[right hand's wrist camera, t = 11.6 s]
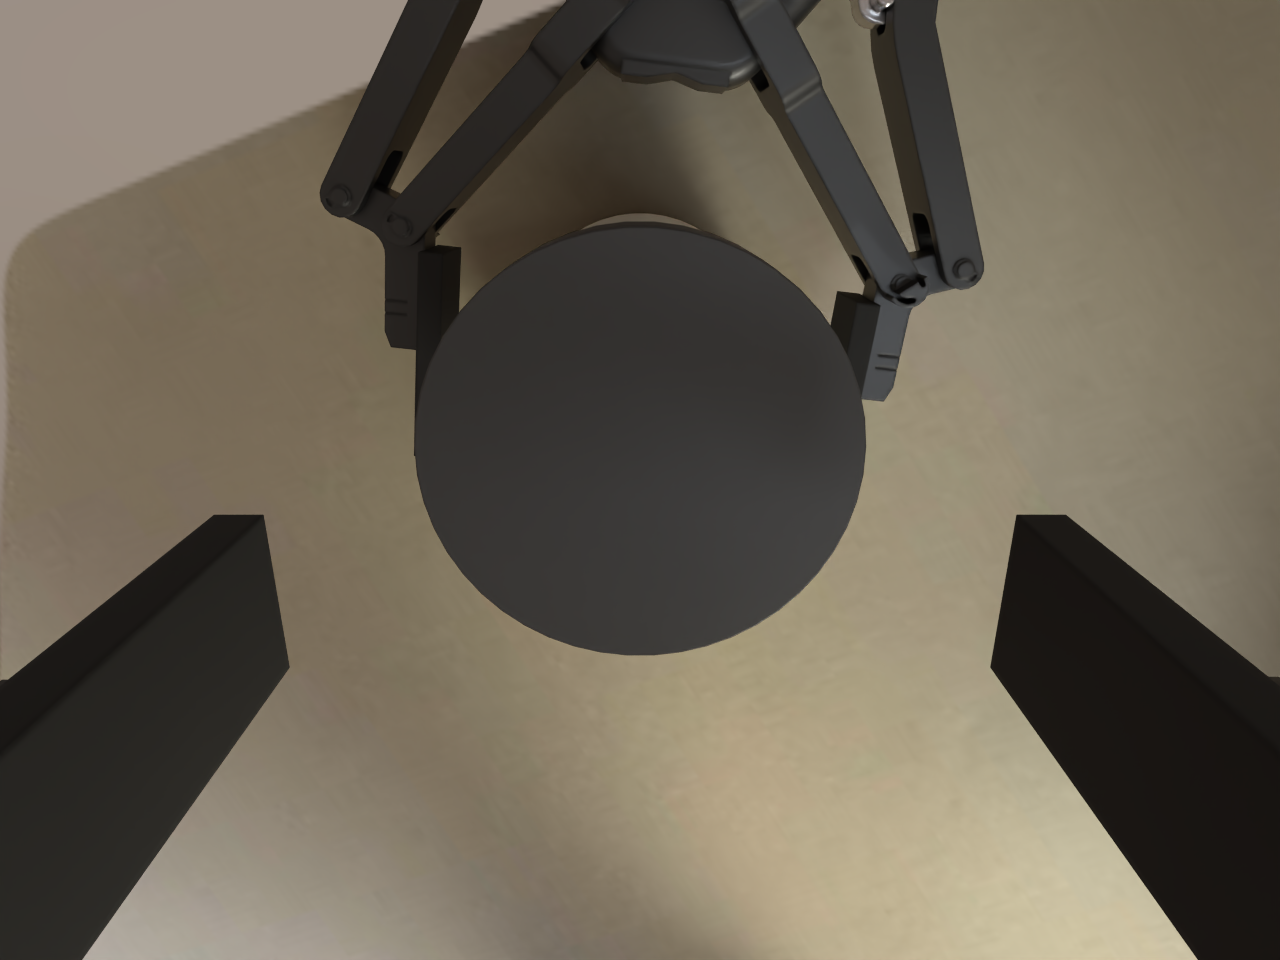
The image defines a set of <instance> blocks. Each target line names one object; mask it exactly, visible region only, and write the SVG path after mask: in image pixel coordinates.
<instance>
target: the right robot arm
mask: <svg viewBox="0 0 1280 960" xmlns="http://www.w3.org/2000/svg"><path fill="white" fill-rule="evenodd" d="M289 668H290V667H289V661H288V655H287V649H286V643H285V637H284V632H283V626H282V620H281V614H280V608H279V602H278V597H277V591H276V585H275V579H274V573H273V567H272V562H271V556H270V550H269V544H268V538H267V532H266V527H265V521H264V515H213V516H212V517H211V518H210V519H208V520H207V521H206V522H205V523H203V524H202V525H201V526H200V527H198V528H197V529H196V530H195V531H193V532H192V533H191V534H190V535H188V536H187V537H186V538H185V539H183V540H182V541H181V542H180V543H178V544H177V545H176V546H175V547H173V548H172V549H171V550H170V551H168V552H167V553H166V554H165V555H163V556H162V557H161V558H160V559H158V560H157V561H156V562H155V563H153V564H152V565H151V566H150V567H148V568H147V569H146V570H145V571H143V572H142V573H141V574H140V575H138V576H137V577H136V578H135V579H133V580H132V581H131V582H130V583H128V584H127V585H126V586H125V587H123V588H122V589H121V590H120V591H118V592H117V593H116V594H115V595H113V596H112V597H111V598H110V599H108V600H107V601H106V602H105V603H103V604H102V605H101V606H100V607H98V608H97V609H96V610H95V611H93V612H92V613H91V614H90V615H88V616H87V617H86V618H85V619H83V620H82V621H81V622H80V623H78V624H77V625H76V626H75V627H73V628H72V629H71V630H70V631H68V632H67V633H66V634H65V635H63V636H62V637H61V638H60V639H58V640H57V641H56V642H55V643H53V644H52V645H51V646H50V647H48V648H47V649H46V650H45V651H43V652H42V653H41V654H40V655H38V656H37V657H36V658H35V659H33V660H32V661H31V662H30V663H28V664H27V665H26V666H25V667H23V668H22V669H21V670H20V671H18V672H17V673H16V674H15V675H13V676H12V677H11V678H10V679H8V680H1V681H0V960H82V959H83V958H84V956H85V955H86V954H87V952H88V951H89V949H90V948H91V947H92V945H93V944H94V942H95V941H96V939H97V938H98V937H99V935H100V934H101V932H102V931H103V930H104V928H105V927H106V925H107V924H108V923H109V921H110V920H111V918H112V917H113V916H114V914H115V913H116V911H117V910H118V908H119V907H120V906H121V904H122V903H123V901H124V900H125V899H126V897H127V896H128V894H129V893H130V892H131V890H132V889H133V887H134V886H135V885H136V883H137V882H138V880H139V879H140V877H141V876H142V875H143V873H144V872H145V870H146V869H147V868H148V866H149V865H150V863H151V862H152V861H153V859H154V858H155V856H156V855H157V854H158V852H159V851H160V849H161V848H162V846H163V845H164V844H165V842H166V841H167V839H168V838H169V837H170V835H171V834H172V832H173V831H174V830H175V828H176V827H177V825H178V824H179V823H180V821H181V820H182V818H183V817H184V816H185V814H186V813H187V811H188V810H189V808H190V807H191V806H192V804H193V803H194V801H195V800H196V799H197V797H198V796H199V794H200V793H201V792H202V790H203V789H204V787H205V786H206V785H207V783H208V782H209V780H210V779H211V777H212V776H213V775H214V773H215V772H216V770H217V769H218V768H219V766H220V765H221V763H222V762H223V761H224V759H225V758H226V756H227V755H228V754H229V752H230V751H231V749H232V748H233V746H234V745H235V744H236V742H237V741H238V739H239V738H240V737H241V735H242V734H243V732H244V731H245V730H246V728H247V727H248V725H249V724H250V723H251V721H252V720H253V718H254V717H255V715H256V714H257V713H258V711H259V710H260V708H261V707H262V706H263V704H264V703H265V701H266V700H267V699H268V697H269V696H270V694H271V693H272V692H273V690H274V689H275V687H276V686H277V685H278V683H279V682H280V680H281V679H282V677H283V676H284V675H285V673H286V672H287V670H288V669H289ZM990 668H991V669H992V670H993V672H994V673H995V675H996V676H997V677H998V679H999V680H1000V682H1001V683H1002V685H1003V686H1004V687H1005V689H1006V690H1007V692H1008V693H1009V694H1010V696H1011V697H1012V699H1013V700H1014V701H1015V703H1016V704H1017V706H1018V707H1019V708H1020V710H1021V711H1022V713H1023V714H1024V715H1025V717H1026V718H1027V720H1028V721H1029V723H1030V724H1031V725H1032V727H1033V728H1034V730H1035V731H1036V732H1037V734H1038V735H1039V737H1040V738H1041V739H1042V741H1043V742H1044V744H1045V745H1046V746H1047V748H1048V749H1049V751H1050V752H1051V754H1052V755H1053V756H1054V758H1055V759H1056V761H1057V762H1058V763H1059V765H1060V766H1061V768H1062V769H1063V770H1064V772H1065V773H1066V775H1067V776H1068V777H1069V779H1070V780H1071V782H1072V783H1073V785H1074V786H1075V787H1076V789H1077V790H1078V792H1079V793H1080V794H1081V796H1082V797H1083V799H1084V800H1085V801H1086V803H1087V804H1088V806H1089V807H1090V808H1091V810H1092V811H1093V813H1094V814H1095V816H1096V817H1097V818H1098V820H1099V821H1100V823H1101V824H1102V825H1103V827H1104V828H1105V830H1106V831H1107V832H1108V834H1109V835H1110V837H1111V838H1112V839H1113V841H1114V842H1115V844H1116V845H1117V846H1118V848H1119V849H1120V851H1121V852H1122V854H1123V855H1124V856H1125V858H1126V859H1127V861H1128V862H1129V863H1130V865H1131V866H1132V868H1133V869H1134V870H1135V872H1136V873H1137V875H1138V876H1139V877H1140V879H1141V880H1142V882H1143V883H1144V885H1145V886H1146V887H1147V889H1148V890H1149V892H1150V893H1151V894H1152V896H1153V897H1154V899H1155V900H1156V901H1157V903H1158V904H1159V906H1160V907H1161V908H1162V910H1163V911H1164V913H1165V914H1166V916H1167V917H1168V918H1169V920H1170V921H1171V923H1172V924H1173V925H1174V927H1175V928H1176V930H1177V931H1178V932H1179V934H1180V935H1181V937H1182V938H1183V939H1184V941H1185V942H1186V944H1187V945H1188V947H1189V948H1190V949H1191V951H1192V952H1193V954H1194V955H1195V956H1196V958H1197V959H1198V960H1280V677H1268V676H1267V675H1265V674H1264V673H1263V672H1262V671H1260V670H1259V669H1258V668H1257V667H1255V666H1254V665H1253V664H1252V663H1250V662H1249V661H1248V660H1247V659H1245V658H1244V657H1243V656H1242V655H1240V654H1239V653H1238V652H1237V651H1235V650H1234V649H1233V648H1232V647H1230V646H1229V645H1228V644H1227V643H1225V642H1224V641H1223V640H1222V639H1220V638H1219V637H1218V636H1217V635H1215V634H1214V633H1213V632H1212V631H1210V630H1209V629H1208V628H1207V627H1205V626H1204V625H1203V624H1202V623H1200V622H1199V621H1198V620H1197V619H1195V618H1194V617H1193V616H1192V615H1190V614H1189V613H1188V612H1187V611H1185V610H1184V609H1183V608H1182V607H1180V606H1179V605H1178V604H1177V603H1175V602H1174V601H1173V600H1172V599H1170V598H1169V597H1168V596H1167V595H1165V594H1164V593H1163V592H1162V591H1160V590H1159V589H1158V588H1157V587H1155V586H1154V585H1153V584H1152V583H1150V582H1149V581H1148V580H1147V579H1145V578H1144V577H1143V576H1142V575H1140V574H1139V573H1138V572H1137V571H1135V570H1134V569H1133V568H1132V567H1130V566H1129V565H1128V564H1127V563H1125V562H1124V561H1123V560H1122V559H1120V558H1119V557H1118V556H1117V555H1115V554H1114V553H1113V552H1112V551H1110V550H1109V549H1108V548H1107V547H1105V546H1104V545H1103V544H1102V543H1100V542H1099V541H1098V540H1097V539H1095V538H1094V537H1093V536H1092V535H1090V534H1089V533H1088V532H1087V531H1085V530H1084V529H1083V528H1082V527H1080V526H1079V525H1078V524H1077V523H1075V522H1074V521H1073V520H1072V519H1070V518H1069V517H1068V516H1067V515H1016V521H1015V526H1014V532H1013V538H1012V544H1011V550H1010V556H1009V562H1008V567H1007V573H1006V579H1005V585H1004V591H1003V597H1002V602H1001V608H1000V614H999V620H998V626H997V632H996V637H995V643H994V649H993V655H992V661H991V667H990Z"/></svg>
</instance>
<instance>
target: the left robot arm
mask: <svg viewBox="0 0 1280 960" xmlns="http://www.w3.org/2000/svg"><path fill="white" fill-rule="evenodd" d="M482 1H483V0H408V2H407V4H406V6H405V8H404V10H403V12H402V14H401V16H400V19H399V21H398V23H397V25H396V27H395V29H394V31H393V34H392V36H391V38H390V40H389V42H388V44H387V46H386V49H385V51H384V53H383V55H382V57H381V59H380V61H379V63H378V66H377V68H376V70H375V72H374V74H373V76H372V78H371V81H370V83H369V85H368V87H367V89H366V91H365V93H364V95H363V98H362V100H361V102H360V104H359V106H358V108H357V110H356V113H355V115H354V117H353V119H352V121H351V123H350V125H349V127H348V130H347V132H346V134H345V136H344V138H343V140H342V142H341V145H340V147H339V149H338V151H337V153H336V155H335V157H334V159H333V162H332V164H331V166H330V168H329V170H328V172H327V174H326V177H325V179H324V181H323V183H322V185H321V189H320V198H321V202H322V204H323V206H324V208H325V209H326V210H327V211H328V212H329V213H330V214H332V215H334V216H337V217H345V218H347V219H349V220H351V221H353V222H355V223H357V224H359V225H361V226H363V227H365V228H367V229H369V230H371V231H372V232H374V233H375V234H376V235H377V236H378V237H379V239H380V240H381V242H382V244H383V247H384V250H385V333H386V335H387V338H388V341H389V343H390V346H391V347H394V348H403V349H412V350H416V381H415V419H416V413H417V407H418V402H419V396H420V391H421V388H422V385H423V382H424V379H425V376H426V372H427V369H428V366H429V363H430V361H431V359H432V357H433V355H434V353H435V351H436V349H437V347H438V345H439V343H440V341H441V339H442V337H443V335H444V334H445V332H446V331H447V330H448V328H449V327H450V325H451V324H452V322H453V321H454V319H455V318H456V316H457V315H458V313H459V294H460V266H461V247H452V246H444V245H437V246H435V237H437V236H438V235H440V234H439V233H438V232H439V231H440V230H441V228H442V227H443V226H444V225H445V224H446V223H447V222H448V221H449V220H450V219H451V217H452V216H453V215H454V214H455V213H456V212H457V211H458V210H459V209H460V208H461V207H462V205H463V204H464V203H465V202H466V201H467V200H468V199H469V198H470V197H471V196H472V194H473V193H474V192H475V191H476V190H477V189H478V188H479V187H480V186H481V185H482V184H483V182H484V181H485V180H486V179H487V178H488V177H489V176H490V175H491V174H492V173H493V171H494V170H495V169H496V168H497V167H498V166H499V165H500V164H501V163H502V162H503V161H504V159H505V158H506V157H507V156H508V155H509V154H510V153H511V152H512V151H513V150H514V148H515V147H516V146H517V145H518V144H519V143H520V142H521V141H522V140H523V139H524V138H525V136H526V135H527V134H528V133H529V132H530V131H531V130H532V129H533V128H534V127H535V125H536V124H537V123H538V122H539V121H540V120H541V119H542V118H543V117H544V116H545V115H546V113H547V112H548V111H549V110H550V109H551V108H552V107H553V106H554V105H555V104H556V102H557V101H558V100H559V99H560V98H561V97H562V96H563V95H564V94H565V93H566V92H567V91H568V90H570V89H571V88H572V87H573V86H574V85H575V84H576V83H577V82H578V81H579V80H580V79H581V78H582V77H583V76H584V75H585V74H586V73H587V71H588V70H589V69H590V68H591V67H592V66H593V65H594V64H595V63H596V62H597V61H598V60H599V62H600V63H601V64H602V65H603V66H604V67H605V68H606V69H607V70H608V71H609V72H611V73H612V74H614V75H615V76H618V77H620V78H621V79H622V81H623V82H631V83H639V84H652V83H658V82H664V81H670V80H673V81H676V82H678V83H681V84H683V85H685V86H688V87H690V88H692V89H695V90H697V91H703V92H711V93H719V94H722V93H723V92H724V91H726V90H731V89H734V88H737V87H739V86H741V85H743V84H744V83H746V82H747V81H750V83H751V84H752V86H753V88H754V90H755V92H756V94H757V95H758V97H759V99H760V101H761V103H762V104H763V106H764V108H765V109H766V111H767V112H768V113H769V114H770V116H771V117H772V118H773V120H774V121H775V123H776V125H777V127H778V128H779V130H780V132H781V134H782V136H783V138H784V139H785V141H786V143H787V145H788V147H789V148H790V150H791V152H792V154H793V156H794V158H795V159H796V161H797V163H798V165H799V167H800V169H801V170H802V172H803V174H804V176H805V178H806V180H807V181H808V183H809V185H810V187H811V189H812V190H813V192H814V194H815V196H816V198H817V200H818V201H819V203H820V205H821V207H822V209H823V211H824V212H825V214H826V216H827V218H828V220H829V221H830V223H831V225H832V227H833V229H834V231H835V232H836V234H837V236H838V238H839V240H840V242H841V243H842V245H843V247H844V249H845V251H846V253H847V254H848V256H849V258H850V260H851V262H852V263H853V265H854V267H855V269H856V271H857V273H858V274H859V276H860V278H861V280H862V282H863V284H864V285H865V286H864V291H863V296H862V295H861V294H858V293H849V292H840V291H837V295H836V300H835V305H834V311H833V316H832V321H831V327H832V329H833V330H834V332H835V333H836V335H837V336H838V338H839V340H840V342H841V344H842V346H843V348H844V350H845V352H846V354H847V356H848V358H849V360H850V362H851V365H852V368H853V371H854V374H855V377H856V380H857V383H858V386H859V389H860V394H861V399H866V400H875V401H884V400H885V399H886V397H887V396H888V394H889V393H890V391H891V390H892V388H893V385H894V381H895V376H896V372H897V371H896V370H897V367H898V363H899V357H900V354H901V350H902V345H903V341H904V336H905V332H906V327H907V323H908V318H909V315H910V312H911V310H912V308H913V307H915V306H917V305H919V304H920V303H921V302H923V301H924V300H925V298H926V296H927V295H930V294H934V293H938V292H942V291H946V290H951V289H955V288H956V289H959V290H963V289H969V288H970V287H972V286H974V285H976V283H977V282H978V281H979V280H980V279H981V277H982V274H983V272H984V262H983V257H982V252H981V247H980V242H979V237H978V232H977V227H976V222H975V217H974V212H973V207H972V202H971V197H970V192H969V187H968V182H967V177H966V172H965V167H964V162H963V157H962V152H961V147H960V143H959V138H958V133H957V128H956V123H955V118H954V113H953V108H952V103H951V98H950V93H949V88H948V83H947V78H946V73H945V68H944V63H943V58H942V53H941V48H940V43H939V38H938V33H937V28H936V23H935V21H936V13H937V5H938V0H849V1H850V4H851V11H852V16H853V18H854V20H855V22H856V23H857V24H858V25H859V26H861V27H863V28H866V29H871V34H870V35H871V52H872V57H873V63H874V69H875V73H876V78H877V82H878V86H879V91H880V95H881V100H882V104H883V108H884V113H885V117H886V121H887V126H888V130H889V135H890V139H891V143H892V148H893V152H894V157H895V161H896V165H897V170H898V174H899V178H900V183H901V187H902V192H903V196H904V200H905V205H906V209H907V214H908V218H909V222H910V227H911V231H912V235H913V240H914V244H915V249H916V251H914V252H910V253H909V252H908V250H907V249H906V247H905V245H904V243H903V241H902V239H901V237H900V235H899V233H898V231H897V229H896V227H895V226H894V224H893V222H892V220H891V218H890V216H889V214H888V212H887V210H886V208H885V206H884V205H883V203H882V201H881V199H880V197H879V195H878V193H877V191H876V189H875V187H874V185H873V183H872V182H871V180H870V178H869V176H868V174H867V172H866V170H865V168H864V166H863V164H862V162H861V161H860V159H859V157H858V155H857V153H856V151H855V149H854V147H853V145H852V143H851V141H850V139H849V138H848V136H847V134H846V132H845V130H844V128H843V126H842V124H841V122H840V120H839V118H838V116H837V115H836V113H835V111H834V109H833V107H832V105H831V103H830V101H829V99H828V97H827V95H826V94H825V91H824V89H823V86H822V81H821V77H820V74H819V72H818V70H817V67H816V65H815V64H814V62H813V60H812V58H811V56H810V54H809V52H808V50H807V48H806V46H805V44H804V42H803V40H802V39H801V37H800V35H799V33H798V31H797V29H796V28H797V27H798V26H799V25H800V23H801V22H802V21H803V20H804V19H805V18H806V16H807V15H808V14H809V13H810V12H811V11H812V10H813V8H814V7H815V6H816V5H817V4H818V3H819V1H820V0H566V2H565V3H564V5H563V6H562V7H561V8H560V9H559V10H558V11H557V13H556V14H555V15H554V16H553V17H552V18H551V19H550V20H549V22H548V23H547V24H546V25H545V26H544V27H543V28H542V30H541V31H540V32H539V33H538V34H537V35H536V37H535V38H534V40H533V41H532V42H531V44H530V46H529V48H528V50H527V51H526V53H525V54H524V55H523V56H522V57H521V59H520V60H519V61H518V62H517V63H516V64H515V65H514V66H513V68H512V69H511V70H510V71H509V72H508V73H507V74H506V75H505V77H504V78H503V79H502V80H501V81H500V82H499V83H498V85H497V86H496V87H495V88H494V89H493V90H492V91H491V92H490V94H489V95H488V96H487V97H486V98H485V99H484V100H483V101H482V103H481V104H480V105H479V106H478V107H477V108H476V109H475V111H474V112H473V113H472V114H471V115H470V116H469V117H468V118H467V120H466V121H465V122H464V123H463V124H462V125H461V126H460V127H459V129H458V130H457V131H456V132H455V133H454V134H453V135H452V137H451V138H450V139H449V140H448V141H447V142H446V143H445V144H444V146H443V147H442V148H441V149H440V150H439V151H438V152H437V154H436V155H435V156H434V157H433V158H432V159H431V160H430V161H429V163H428V164H427V165H426V166H425V167H424V168H423V169H422V170H421V172H420V173H419V174H418V175H417V176H416V177H415V178H414V180H413V181H412V182H411V183H410V184H409V185H408V186H407V187H406V189H405V190H404V191H403V192H402V193H401V194H400V193H398V192H396V191H394V190H392V189H390V188H391V186H392V184H393V182H394V180H395V178H396V176H397V174H398V172H399V170H400V168H401V166H402V164H403V162H404V160H405V158H406V156H407V154H408V152H409V150H410V148H411V146H412V144H413V142H414V140H415V138H416V136H417V134H418V132H419V130H420V128H421V126H422V124H423V122H424V120H425V118H426V116H427V114H428V112H429V110H430V108H431V106H432V104H433V102H434V100H435V98H436V96H437V94H438V92H439V90H440V88H441V86H442V84H443V82H444V80H445V78H446V76H447V74H448V72H449V70H450V68H451V66H452V64H453V62H454V60H455V58H456V56H457V54H458V52H459V50H460V48H461V46H462V43H463V41H464V39H465V37H466V35H467V33H468V31H469V29H470V27H471V25H472V23H473V21H474V19H475V17H476V15H477V13H478V10H479V8H480V5H481V3H482ZM414 444H415V433H414ZM414 456H415V449H414Z"/></svg>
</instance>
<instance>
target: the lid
mask: <svg viewBox="0 0 1280 960" xmlns="http://www.w3.org/2000/svg"><path fill="white" fill-rule="evenodd" d="M414 449H415V458H416V468H417V476H418V481H419V485H420V489H421V493H422V497H423V501H424V504H425V507H426V509H427V512H428V515H429V517H430V520H431V522H432V525H433V527H434V529H435V531H436V533H437V535H438V537H439V538H440V540H441V542H442V544H443V546H444V548H445V549H446V551H447V553H448V554H449V556H450V557H451V558H452V560H453V561H454V562H455V564H456V565H457V567H458V568H459V569H460V571H461V572H462V573H463V575H464V576H465V577H466V578H467V579H468V580H469V581H470V582H471V583H472V584H473V585H474V586H475V587H476V588H477V589H478V591H479V592H480V593H481V594H482V595H484V596H485V597H486V598H487V599H488V600H490V601H491V602H492V603H493V604H494V605H496V606H497V607H498V608H499V609H500V610H502V611H503V612H505V613H506V614H508V615H509V616H511V617H512V618H514V619H515V620H517V621H519V622H520V623H522V624H523V625H525V626H527V627H529V628H531V629H533V630H535V631H537V632H539V633H541V634H543V635H545V636H547V637H549V638H552V639H555V640H558V641H561V642H564V643H566V644H569V645H572V646H575V647H580V648H584V649H588V650H593V651H597V652H602V653H611V654H620V655H660V654H669V653H678V652H684V651H688V650H692V649H696V648H701V647H705V646H708V645H711V644H714V643H717V642H720V641H722V640H725V639H728V638H731V637H733V636H735V635H737V634H739V633H741V632H743V631H745V630H747V629H749V628H751V627H754V626H756V625H757V624H759V623H760V622H762V621H763V620H765V619H766V618H768V617H770V616H771V615H773V614H774V613H776V612H777V611H779V610H780V609H781V608H782V607H784V606H785V605H786V604H787V603H788V602H790V601H791V600H792V599H793V598H794V597H795V596H797V595H798V594H799V593H800V592H801V591H802V590H803V589H804V588H805V587H806V586H807V585H808V584H809V582H810V581H811V580H812V579H813V578H814V577H815V576H816V575H817V574H818V573H819V571H820V570H821V568H822V567H823V566H824V564H825V563H826V562H827V560H828V559H829V557H830V556H831V555H832V553H833V552H834V550H835V548H836V547H837V545H838V543H839V541H840V539H841V537H842V536H843V534H844V532H845V530H846V528H847V526H848V523H849V521H850V518H851V516H852V513H853V510H854V508H855V505H856V503H857V499H858V495H859V491H860V486H861V482H862V478H863V473H864V463H865V453H866V432H865V416H864V411H863V405H862V399H861V394H860V389H859V386H858V383H857V380H856V377H855V374H854V371H853V368H852V365H851V362H850V360H849V358H848V356H847V354H846V352H845V350H844V348H843V346H842V344H841V342H840V340H839V338H838V336H837V335H836V333H835V332H834V330H833V329H832V327H831V326H830V324H829V323H828V322H827V320H826V319H825V317H824V316H823V314H822V313H821V311H820V310H819V309H818V308H817V307H816V306H815V305H814V304H813V303H812V302H811V300H810V299H809V298H808V297H807V296H806V295H805V294H804V293H803V292H802V291H801V290H800V289H799V288H798V287H797V286H796V285H795V284H793V283H792V282H791V281H790V280H789V279H787V278H786V277H785V276H784V275H782V274H781V273H780V272H779V271H778V270H776V269H775V268H774V267H772V266H771V265H769V264H768V263H766V262H765V261H764V260H762V259H761V258H759V257H757V256H756V255H754V254H752V253H751V252H749V251H747V250H746V249H744V248H743V247H741V246H739V245H737V244H735V243H733V242H731V241H728V240H726V239H724V238H721V237H719V236H717V235H714V234H712V233H709V232H705V231H702V230H698V229H695V228H691V227H687V226H684V225H677V224H670V223H662V222H655V221H625V222H618V223H611V224H604V225H596V226H593V227H589V228H586V229H582V230H579V231H575V232H572V233H568V234H566V235H564V236H561V237H559V238H557V239H554V240H552V241H550V242H548V243H545V244H543V245H541V246H539V247H538V248H536V249H535V250H533V251H531V252H530V253H528V254H526V255H525V256H523V257H522V258H520V259H518V260H517V261H515V262H514V263H513V264H511V265H510V266H508V267H507V268H505V269H504V270H503V271H502V272H500V273H499V274H498V275H497V276H496V277H494V278H493V279H492V280H491V281H490V282H488V283H487V284H486V285H485V286H483V287H482V288H481V289H480V290H479V291H478V292H477V293H476V294H475V295H474V297H473V298H472V299H471V300H470V301H469V302H468V303H467V304H466V305H465V306H464V308H463V309H462V310H461V311H460V312H459V313H458V315H457V316H456V318H455V319H454V321H453V322H452V324H451V325H450V327H449V328H448V330H447V331H446V332H445V334H444V335H443V337H442V339H441V341H440V343H439V345H438V347H437V349H436V351H435V353H434V355H433V357H432V359H431V361H430V363H429V366H428V369H427V372H426V376H425V379H424V382H423V385H422V388H421V391H420V396H419V402H418V407H417V413H416V419H415V444H414Z"/></svg>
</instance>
